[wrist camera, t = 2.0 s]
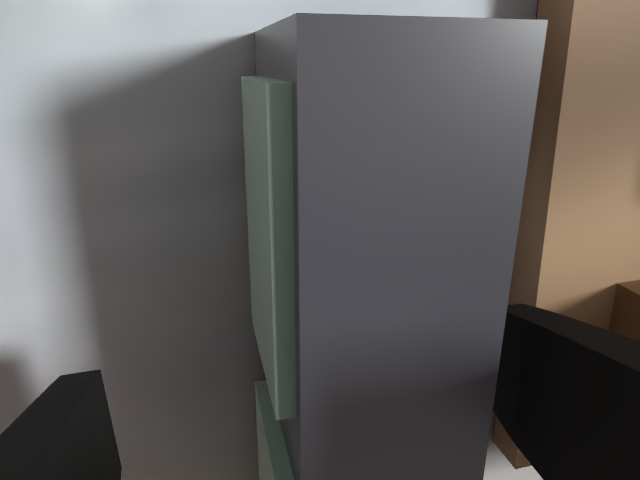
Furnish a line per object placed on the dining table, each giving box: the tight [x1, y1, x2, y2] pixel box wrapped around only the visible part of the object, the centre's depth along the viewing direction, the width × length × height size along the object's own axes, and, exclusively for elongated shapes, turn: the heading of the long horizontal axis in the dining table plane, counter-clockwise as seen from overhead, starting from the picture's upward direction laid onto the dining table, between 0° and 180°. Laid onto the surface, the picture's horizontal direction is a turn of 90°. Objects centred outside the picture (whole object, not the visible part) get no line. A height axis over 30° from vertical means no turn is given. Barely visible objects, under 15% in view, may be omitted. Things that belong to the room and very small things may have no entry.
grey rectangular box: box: [241, 13, 548, 480], centre depth 9 cm, size 12×3×4 cm, turn 0°
